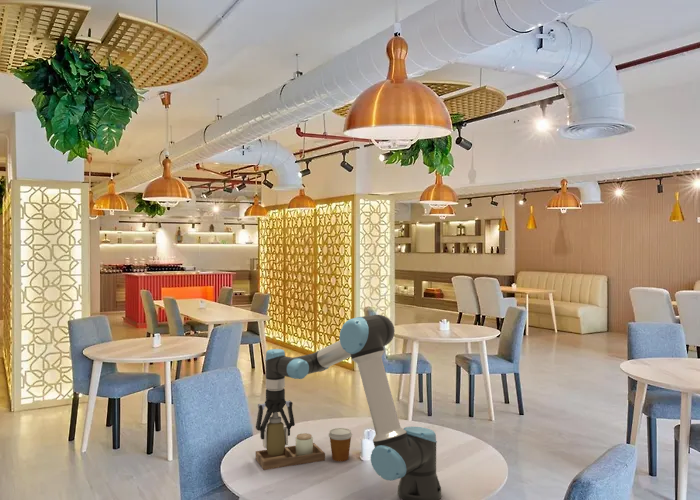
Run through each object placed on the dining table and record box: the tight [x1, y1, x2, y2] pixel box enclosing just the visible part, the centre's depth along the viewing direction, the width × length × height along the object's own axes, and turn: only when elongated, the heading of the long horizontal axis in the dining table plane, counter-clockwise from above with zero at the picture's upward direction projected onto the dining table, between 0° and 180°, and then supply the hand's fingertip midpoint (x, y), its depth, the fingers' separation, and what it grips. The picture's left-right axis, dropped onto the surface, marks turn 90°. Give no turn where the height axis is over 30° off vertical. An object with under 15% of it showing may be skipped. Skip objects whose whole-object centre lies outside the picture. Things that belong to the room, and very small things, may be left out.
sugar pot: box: [295, 432, 314, 456], centre depth 241 cm, size 7×7×9 cm
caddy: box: [255, 442, 326, 471], centre depth 239 cm, size 13×25×4 cm, turn 113°
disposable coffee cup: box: [328, 427, 353, 462], centre depth 240 cm, size 10×10×12 cm
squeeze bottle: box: [265, 412, 287, 456], centre depth 237 cm, size 8×8×18 cm
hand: (275, 445), depth 237 cm, fingers closed on squeeze bottle, 8 cm apart
